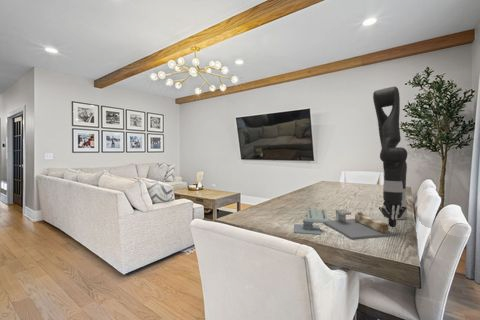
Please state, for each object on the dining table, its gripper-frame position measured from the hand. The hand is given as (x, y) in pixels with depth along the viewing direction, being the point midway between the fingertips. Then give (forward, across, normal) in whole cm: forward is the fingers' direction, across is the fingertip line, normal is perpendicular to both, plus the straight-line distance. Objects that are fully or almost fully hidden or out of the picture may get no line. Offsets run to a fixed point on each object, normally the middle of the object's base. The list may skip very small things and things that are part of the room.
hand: (392, 226), depth 107 cm
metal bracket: (+4, +24, -28) cm, 37 cm away
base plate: (+3, +13, -8) cm, 16 cm away
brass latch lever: (+2, +6, -7) cm, 10 cm away
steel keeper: (+2, +15, -15) cm, 22 cm away
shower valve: (+4, +36, -11) cm, 38 cm away
